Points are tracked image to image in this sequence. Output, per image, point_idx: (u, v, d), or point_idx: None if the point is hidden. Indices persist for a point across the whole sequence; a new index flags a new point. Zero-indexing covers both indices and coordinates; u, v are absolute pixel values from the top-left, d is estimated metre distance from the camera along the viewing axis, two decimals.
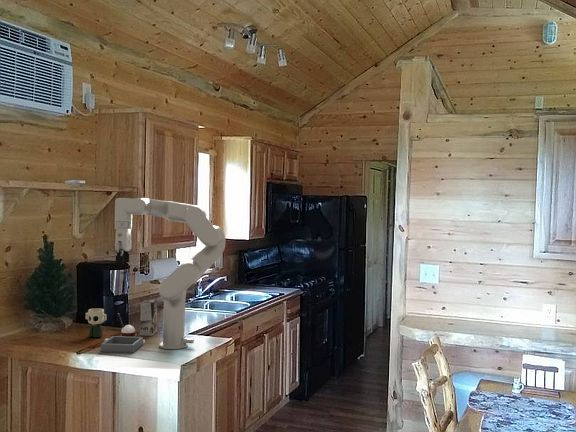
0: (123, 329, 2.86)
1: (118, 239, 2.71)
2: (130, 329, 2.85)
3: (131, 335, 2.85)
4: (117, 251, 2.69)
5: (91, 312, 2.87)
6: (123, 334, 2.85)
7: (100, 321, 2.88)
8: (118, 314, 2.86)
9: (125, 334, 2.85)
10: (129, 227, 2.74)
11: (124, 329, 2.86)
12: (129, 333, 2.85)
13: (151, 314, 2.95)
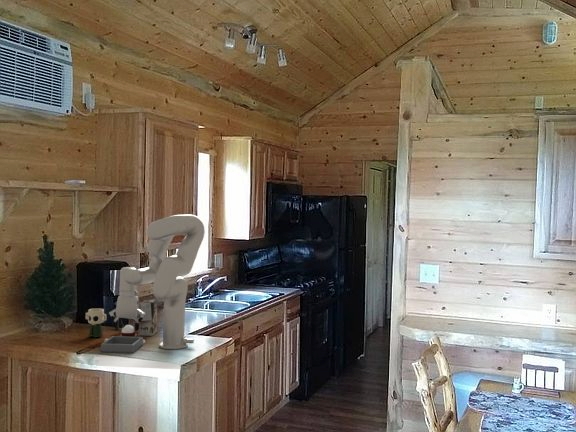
0: (123, 329, 2.86)
1: (137, 307, 2.87)
2: (130, 329, 2.85)
3: (131, 335, 2.85)
4: (142, 318, 2.87)
5: (91, 312, 2.87)
6: (123, 334, 2.85)
7: (100, 321, 2.88)
8: None
9: (125, 334, 2.85)
10: None
11: (124, 329, 2.86)
12: (129, 333, 2.85)
13: (151, 314, 2.95)
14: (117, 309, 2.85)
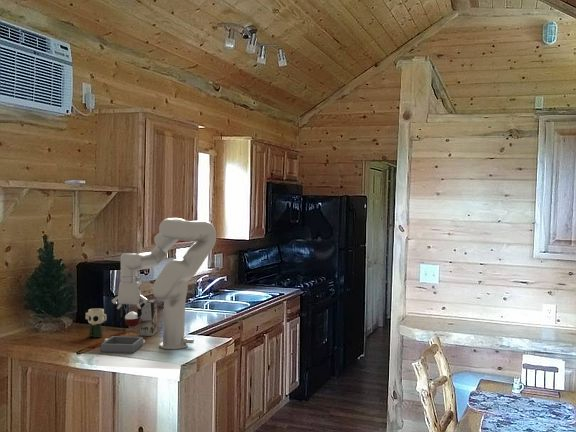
0: (126, 315, 2.85)
1: (139, 292, 2.86)
2: (133, 315, 2.84)
3: (135, 321, 2.84)
4: None
5: (91, 312, 2.87)
6: (127, 320, 2.84)
7: (100, 321, 2.88)
8: None
9: (129, 320, 2.84)
10: None
11: (127, 315, 2.85)
12: (133, 319, 2.84)
13: (151, 314, 2.95)
14: (119, 295, 2.85)
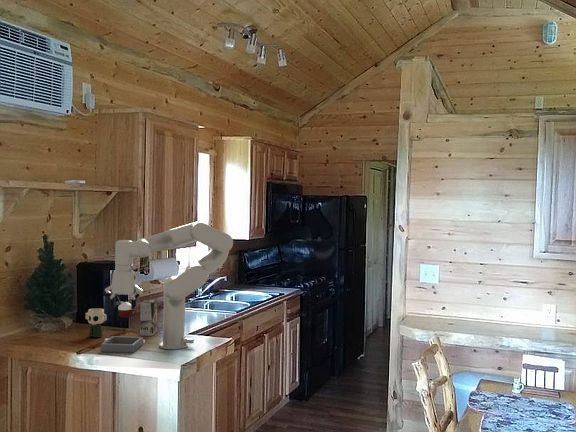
0: (120, 306, 2.68)
1: (134, 282, 2.69)
2: (127, 306, 2.68)
3: (128, 312, 2.68)
4: (139, 294, 2.70)
5: (91, 312, 2.87)
6: (120, 311, 2.68)
7: (100, 321, 2.88)
8: None
9: (122, 311, 2.67)
10: None
11: (121, 306, 2.68)
12: (126, 310, 2.67)
13: (151, 314, 2.95)
14: (113, 285, 2.68)
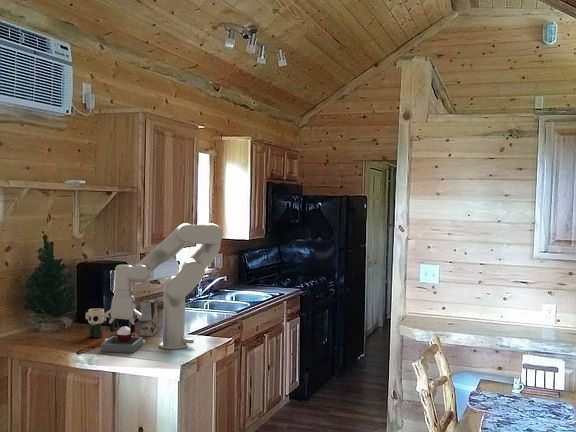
0: (119, 331, 2.68)
1: (134, 307, 2.69)
2: (126, 331, 2.68)
3: (127, 337, 2.68)
4: None
5: (91, 312, 2.87)
6: (119, 336, 2.67)
7: (100, 321, 2.88)
8: None
9: (121, 336, 2.67)
10: None
11: (120, 331, 2.68)
12: (125, 335, 2.67)
13: (151, 314, 2.95)
14: (112, 309, 2.68)
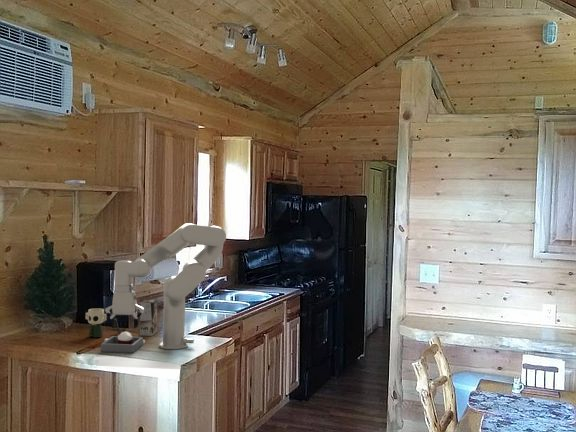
0: (119, 336, 2.68)
1: (135, 302, 2.69)
2: (127, 336, 2.68)
3: (127, 343, 2.68)
4: (141, 313, 2.70)
5: (91, 312, 2.87)
6: (119, 341, 2.68)
7: (100, 321, 2.88)
8: (115, 320, 2.69)
9: (121, 341, 2.67)
10: None
11: (120, 336, 2.68)
12: (125, 340, 2.67)
13: (151, 314, 2.95)
14: (113, 306, 2.68)
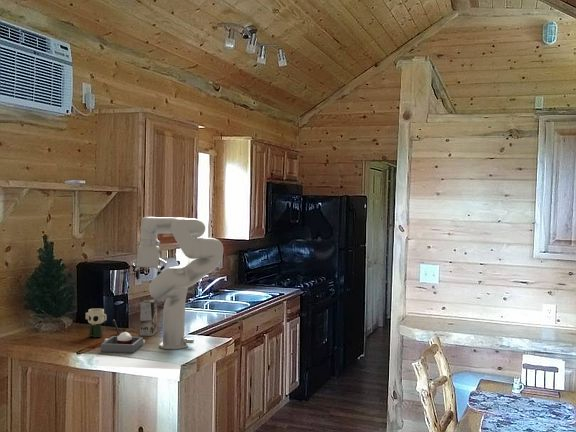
0: (119, 337, 2.68)
1: (159, 256, 2.89)
2: (126, 337, 2.68)
3: (127, 343, 2.68)
4: (164, 267, 2.89)
5: (91, 312, 2.87)
6: (119, 342, 2.68)
7: (100, 321, 2.88)
8: (114, 321, 2.69)
9: (121, 342, 2.67)
10: None
11: (120, 337, 2.68)
12: (125, 341, 2.67)
13: (151, 314, 2.95)
14: (138, 258, 2.87)
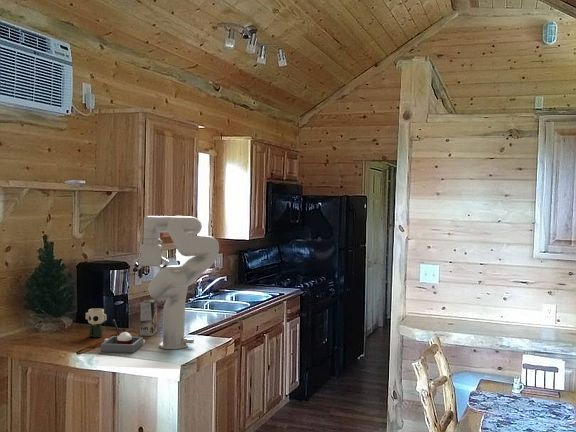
0: (119, 337, 2.68)
1: (161, 255, 2.90)
2: (126, 337, 2.68)
3: (127, 343, 2.68)
4: (167, 265, 2.91)
5: (91, 312, 2.87)
6: (119, 342, 2.68)
7: (100, 321, 2.88)
8: (114, 321, 2.69)
9: (121, 342, 2.67)
10: None
11: (120, 337, 2.68)
12: (125, 341, 2.67)
13: (151, 314, 2.95)
14: (141, 257, 2.89)
